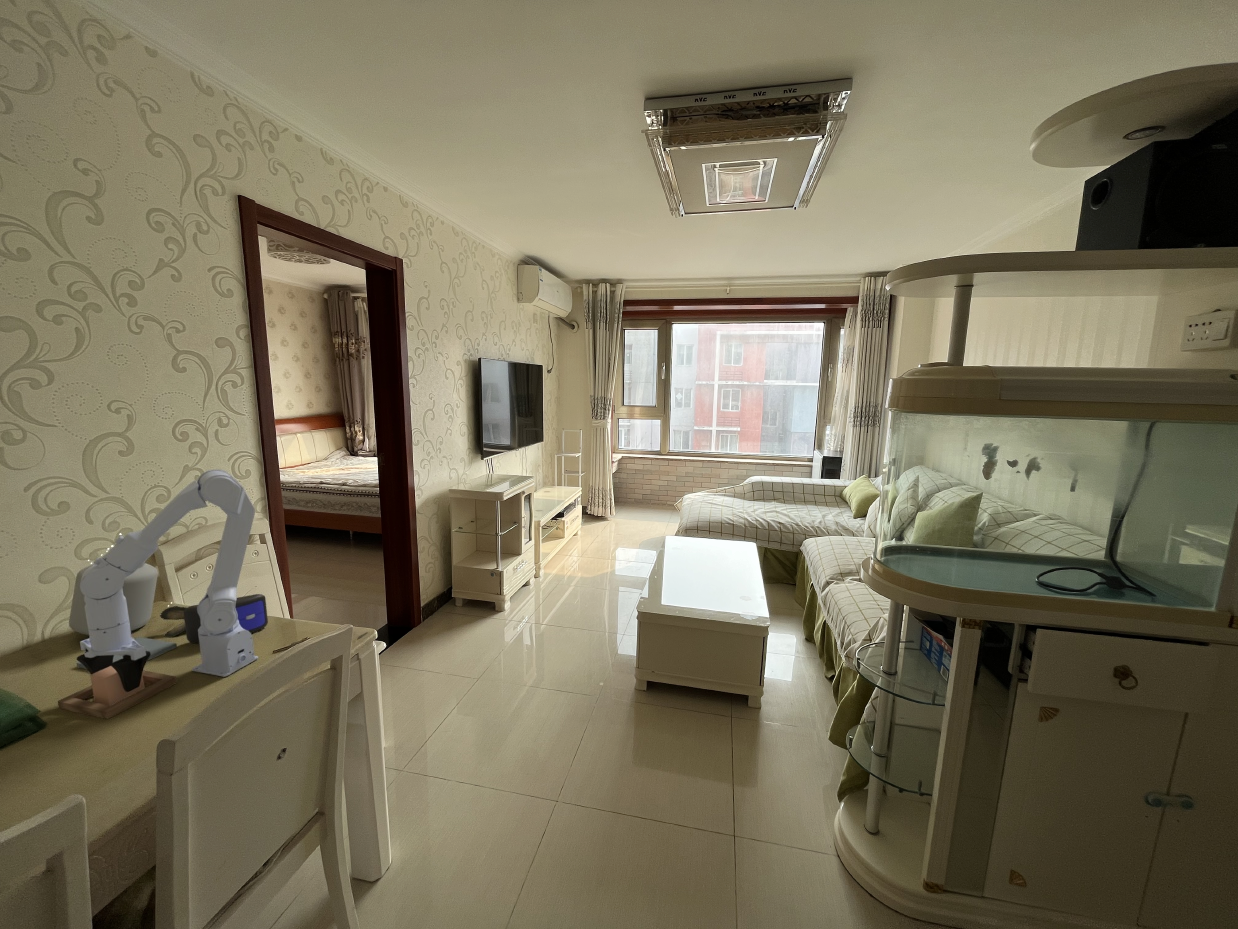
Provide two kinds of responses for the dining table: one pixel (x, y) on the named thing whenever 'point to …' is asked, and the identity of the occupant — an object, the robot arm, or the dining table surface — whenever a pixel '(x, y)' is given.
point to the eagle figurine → (174, 614)
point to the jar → (135, 591)
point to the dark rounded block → (249, 617)
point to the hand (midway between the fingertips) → (118, 686)
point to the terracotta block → (110, 687)
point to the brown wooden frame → (80, 705)
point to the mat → (147, 648)
